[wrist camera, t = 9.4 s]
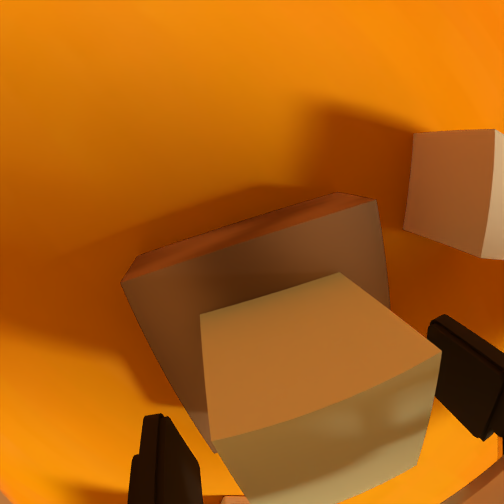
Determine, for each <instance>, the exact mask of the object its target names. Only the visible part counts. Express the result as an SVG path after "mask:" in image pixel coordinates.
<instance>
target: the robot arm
mask: <svg viewBox="0 0 504 504" xmlns="http://www.w3.org/2000/svg"><path fill="white" fill-rule="evenodd" d="M427 339H428V340H429V341H430V342H431V343H433V344H434V345H435V346H436V347H438V348H439V349H440V350H441V351H442V355H441V362H440V368H439V374H438V380H437V386H436V391H435V397H436V398H437V399H438V400H439V401H440V402H441V403H442V404H443V405H444V406H445V407H446V408H447V409H448V410H449V411H450V412H451V413H452V414H453V415H454V416H455V417H456V418H457V419H458V420H459V421H460V422H461V423H462V424H463V425H464V426H465V427H466V428H467V429H468V430H469V431H470V433H471V434H472V435H473V436H475V437H476V438H480V439H481V440H482V441H483V442H484V441H485V440H486V439H487V438H489V437H490V436H491V435H492V434H493V433H494V432H495V433H496V434H497V435H498V457H497V461H496V462H495V463H494V464H493V465H492V466H491V467H489V468H488V469H487V470H486V471H484V472H483V473H482V474H481V475H479V476H478V477H477V478H476V479H474V480H473V481H472V482H470V483H469V484H468V485H466V486H465V487H464V488H462V489H461V490H459V491H458V492H457V493H455V494H454V495H452V496H451V497H449V498H448V499H446V500H445V501H443V502H442V503H440V504H504V353H503V352H501V351H500V350H498V349H497V348H495V347H494V346H493V345H491V344H490V343H488V342H487V341H485V340H484V339H482V338H481V337H479V336H478V335H476V334H475V333H473V332H472V331H470V330H469V329H467V328H466V327H464V326H463V325H461V324H460V323H458V322H457V321H455V320H454V319H452V318H451V317H449V316H448V315H445V314H443V315H441V316H439V317H437V318H436V319H434V320H432V321H431V322H430V326H429V327H428V332H427ZM128 504H203V497H202V487H201V476H200V467H199V464H198V461H197V460H196V458H195V457H194V455H193V454H192V452H191V451H190V449H189V448H188V446H187V445H186V443H185V442H184V440H183V438H182V437H181V435H180V434H179V432H178V431H177V429H176V427H175V426H174V424H173V422H172V421H171V419H170V418H169V417H168V416H167V417H164V416H163V414H161V413H159V414H154V415H148V416H145V417H144V419H143V426H142V434H141V442H140V451H139V454H137V455H134V457H133V459H132V465H131V473H130V483H129V493H128Z"/></svg>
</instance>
